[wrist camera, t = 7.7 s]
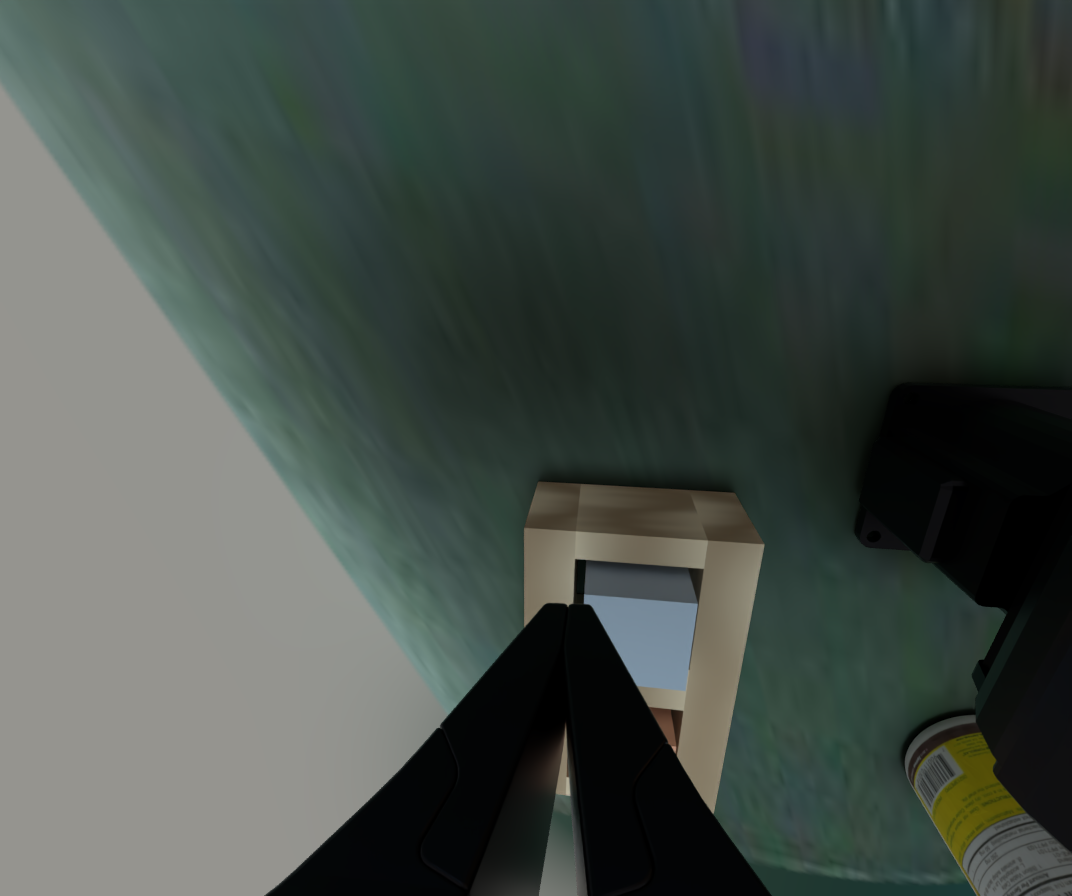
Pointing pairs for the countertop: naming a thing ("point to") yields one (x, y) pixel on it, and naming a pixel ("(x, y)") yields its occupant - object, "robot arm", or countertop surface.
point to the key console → (667, 540)
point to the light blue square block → (646, 618)
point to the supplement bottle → (983, 815)
